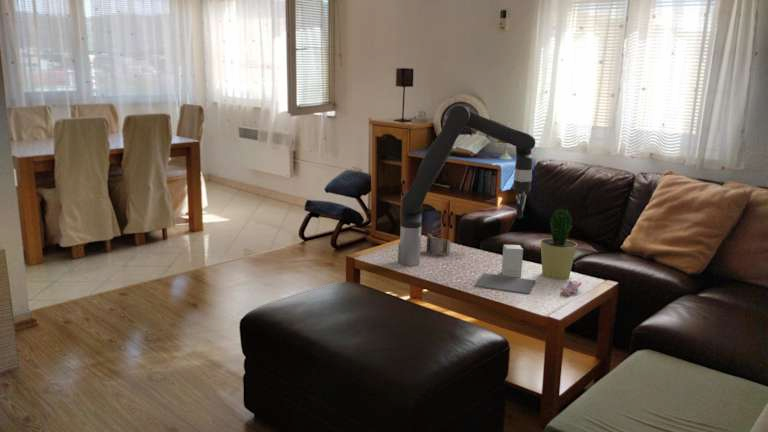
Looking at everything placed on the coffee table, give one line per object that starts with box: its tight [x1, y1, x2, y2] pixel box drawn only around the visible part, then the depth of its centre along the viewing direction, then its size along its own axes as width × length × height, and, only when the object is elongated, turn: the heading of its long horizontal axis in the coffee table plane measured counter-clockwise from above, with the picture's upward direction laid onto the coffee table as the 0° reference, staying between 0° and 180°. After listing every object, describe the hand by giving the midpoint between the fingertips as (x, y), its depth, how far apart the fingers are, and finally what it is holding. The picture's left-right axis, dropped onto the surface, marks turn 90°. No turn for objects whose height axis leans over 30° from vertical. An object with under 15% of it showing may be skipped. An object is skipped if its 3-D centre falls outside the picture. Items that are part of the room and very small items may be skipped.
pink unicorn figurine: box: [559, 280, 583, 298], centre depth 252 cm, size 6×6×15 cm
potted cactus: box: [539, 208, 578, 281], centre depth 271 cm, size 15×15×30 cm
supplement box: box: [501, 244, 524, 278], centre depth 272 cm, size 7×7×13 cm
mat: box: [473, 272, 536, 295], centre depth 260 cm, size 22×18×1 cm
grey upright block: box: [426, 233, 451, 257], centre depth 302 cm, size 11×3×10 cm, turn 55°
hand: (519, 218), depth 279 cm, fingers closed
